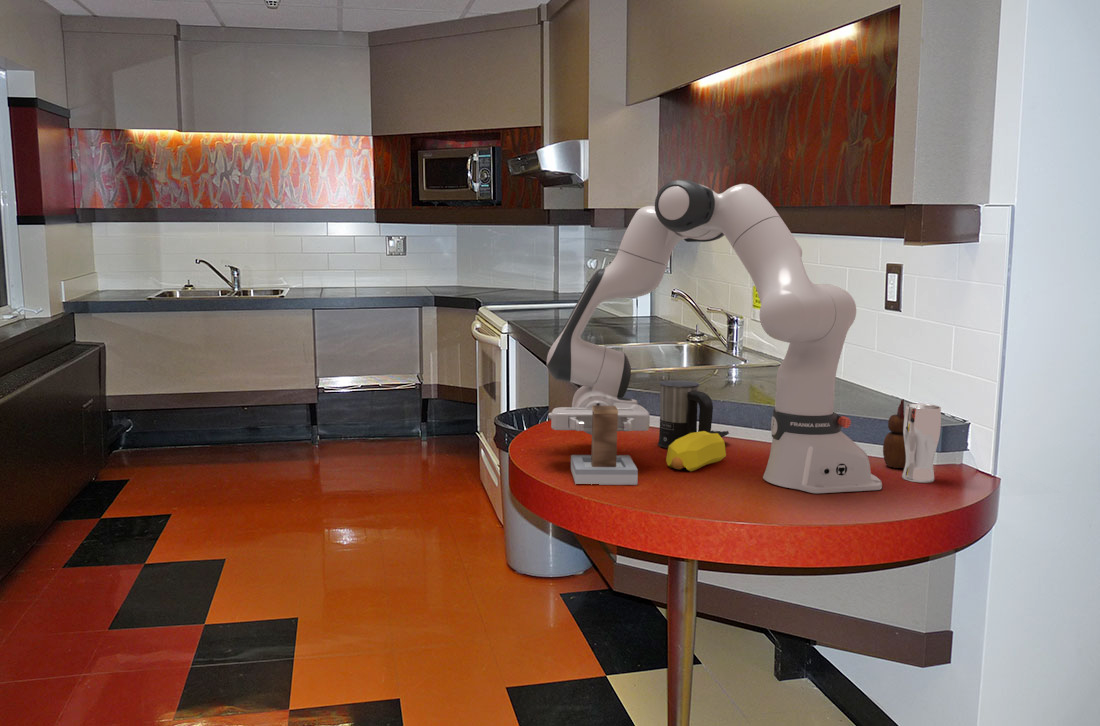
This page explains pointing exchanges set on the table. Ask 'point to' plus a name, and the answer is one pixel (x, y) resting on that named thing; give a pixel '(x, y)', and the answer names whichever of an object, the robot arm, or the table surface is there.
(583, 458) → the plinth base
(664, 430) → the milk frother
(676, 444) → the hot dog
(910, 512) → the table surface
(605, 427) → the column block
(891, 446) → the wooden figurine
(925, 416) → the beer glass
